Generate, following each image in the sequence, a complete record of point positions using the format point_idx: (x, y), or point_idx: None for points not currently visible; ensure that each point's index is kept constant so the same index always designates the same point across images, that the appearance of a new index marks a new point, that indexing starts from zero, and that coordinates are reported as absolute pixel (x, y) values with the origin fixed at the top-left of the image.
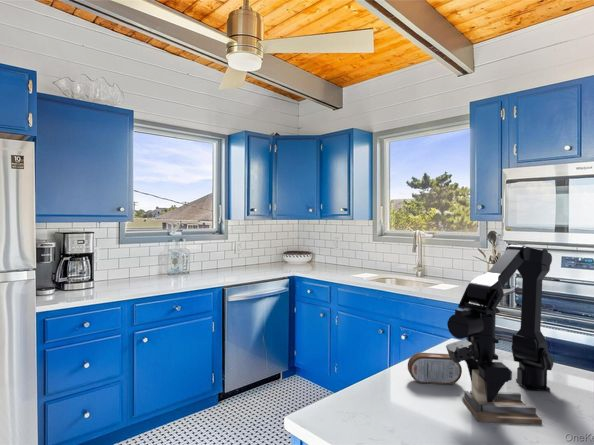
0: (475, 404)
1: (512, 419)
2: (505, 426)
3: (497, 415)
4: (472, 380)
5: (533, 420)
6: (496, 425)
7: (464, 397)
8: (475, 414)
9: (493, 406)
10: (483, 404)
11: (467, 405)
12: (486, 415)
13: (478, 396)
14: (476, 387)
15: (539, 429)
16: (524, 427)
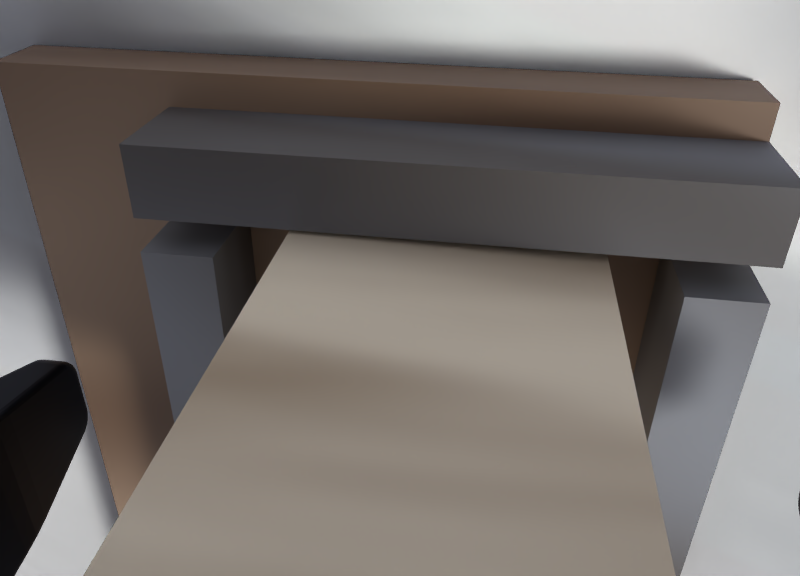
0: (172, 149)
1: (110, 456)
2: (20, 327)
3: (131, 350)
4: (605, 503)
5: None
6: (7, 241)
7: (726, 129)
8: (117, 61)
9: (171, 397)
10: (202, 287)
11: (483, 74)
12: (91, 211)
13: (259, 305)
14: (283, 410)
15: (69, 564)
16: (65, 480)
